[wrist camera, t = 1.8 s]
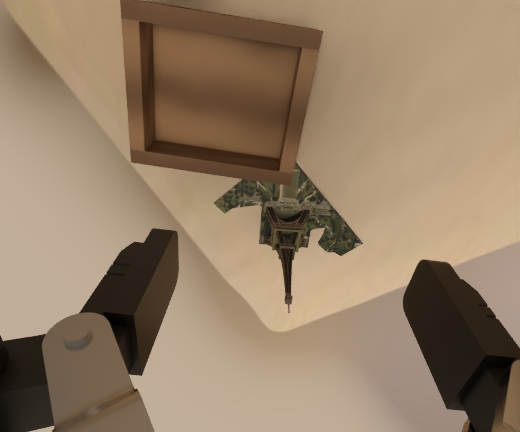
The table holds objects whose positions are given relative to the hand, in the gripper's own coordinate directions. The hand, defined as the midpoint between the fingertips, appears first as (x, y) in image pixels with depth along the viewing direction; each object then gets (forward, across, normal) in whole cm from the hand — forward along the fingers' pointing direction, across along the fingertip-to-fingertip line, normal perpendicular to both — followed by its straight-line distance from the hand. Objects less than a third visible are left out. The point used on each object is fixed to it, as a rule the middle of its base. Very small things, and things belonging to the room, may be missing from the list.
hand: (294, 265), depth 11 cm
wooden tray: (+23, +5, -1) cm, 23 cm away
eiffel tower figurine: (+23, -3, +12) cm, 27 cm away
